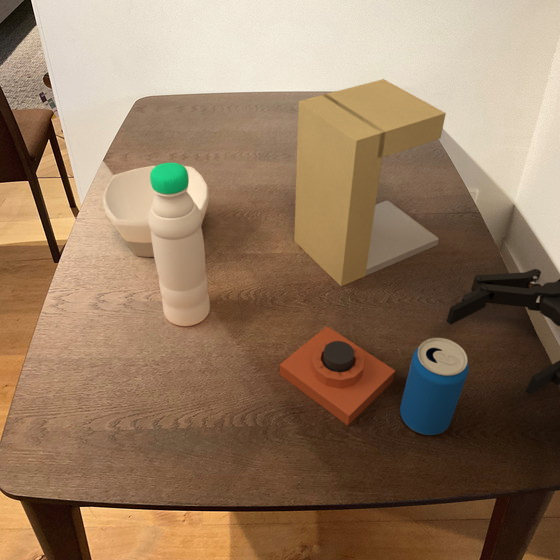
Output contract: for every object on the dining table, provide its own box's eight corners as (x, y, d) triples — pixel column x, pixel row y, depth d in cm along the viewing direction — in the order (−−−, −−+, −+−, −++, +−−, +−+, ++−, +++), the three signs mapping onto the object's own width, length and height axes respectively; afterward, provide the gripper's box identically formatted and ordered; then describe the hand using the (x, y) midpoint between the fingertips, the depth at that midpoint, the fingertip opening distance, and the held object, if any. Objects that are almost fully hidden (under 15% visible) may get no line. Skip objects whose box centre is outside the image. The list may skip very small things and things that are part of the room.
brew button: (359, 360, 77) (360, 351, 76) (340, 377, 75) (341, 368, 74) (335, 344, 79) (336, 336, 78) (316, 361, 77) (317, 352, 76)
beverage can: (407, 389, 78) (422, 328, 70) (455, 407, 76) (476, 346, 68) (392, 426, 73) (407, 365, 66) (442, 446, 71) (464, 385, 63)
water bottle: (214, 298, 91) (201, 156, 74) (205, 330, 86) (190, 186, 69) (170, 294, 91) (148, 153, 75) (159, 326, 86) (132, 182, 70)
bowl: (112, 275, 95) (101, 229, 89) (111, 214, 108) (101, 170, 101) (220, 260, 98) (216, 214, 92) (206, 202, 111) (202, 159, 105)
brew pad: (393, 381, 79) (397, 361, 76) (347, 426, 73) (350, 407, 71) (325, 336, 85) (327, 317, 82) (279, 374, 80) (279, 355, 77)
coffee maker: (437, 245, 102) (471, 105, 84) (340, 286, 93) (356, 140, 76) (386, 206, 110) (407, 72, 93) (294, 241, 102) (298, 100, 85)
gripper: (667, 366, 76) (560, 439, 68) (518, 261, 92) (417, 310, 83) (695, 326, 71) (583, 400, 63) (532, 223, 87) (426, 271, 78)
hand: (488, 349), depth 73 cm, fingers open, 13 cm apart
